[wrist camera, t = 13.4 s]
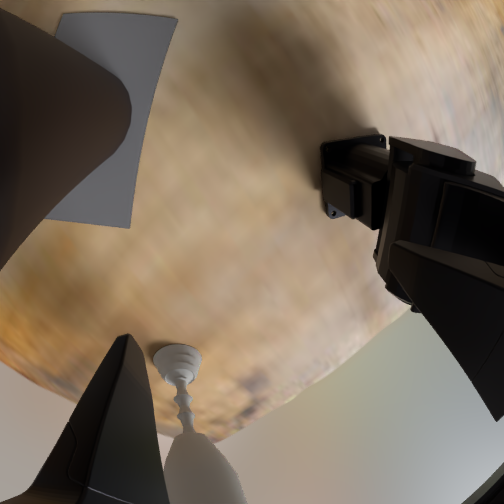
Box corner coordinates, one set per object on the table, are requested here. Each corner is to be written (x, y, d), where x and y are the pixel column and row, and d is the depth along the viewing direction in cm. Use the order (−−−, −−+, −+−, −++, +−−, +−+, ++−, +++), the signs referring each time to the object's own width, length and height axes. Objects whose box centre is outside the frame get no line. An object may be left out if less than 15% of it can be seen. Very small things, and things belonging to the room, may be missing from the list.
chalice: (129, 354, 25) (144, 536, 9) (184, 325, 25) (232, 526, 10) (172, 387, 29) (203, 537, 13) (222, 364, 29) (276, 521, 14)
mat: (177, 20, 13) (178, 19, 13) (130, 226, 19) (129, 228, 19) (65, 15, 10) (63, 13, 10) (30, 215, 16) (28, 216, 16)
